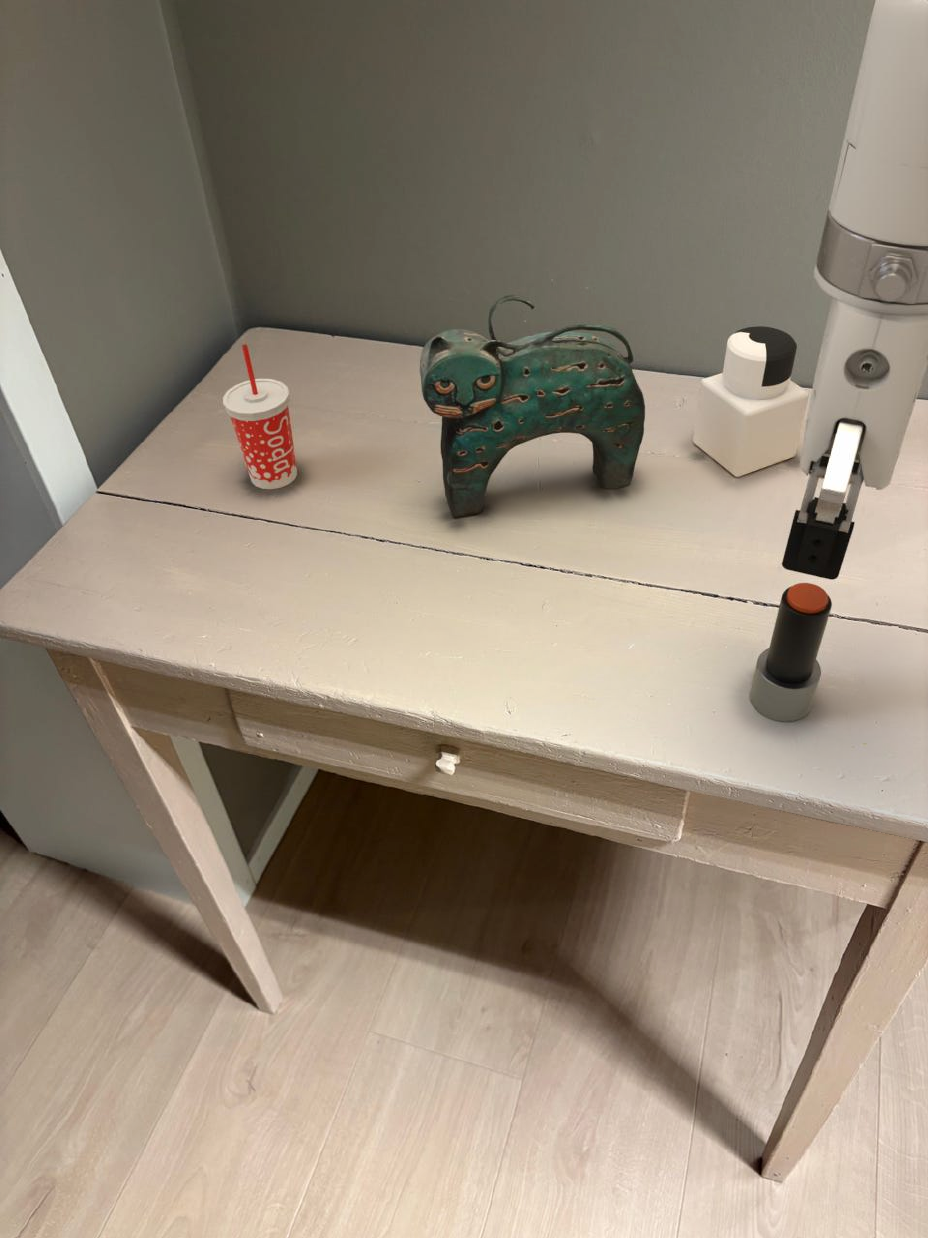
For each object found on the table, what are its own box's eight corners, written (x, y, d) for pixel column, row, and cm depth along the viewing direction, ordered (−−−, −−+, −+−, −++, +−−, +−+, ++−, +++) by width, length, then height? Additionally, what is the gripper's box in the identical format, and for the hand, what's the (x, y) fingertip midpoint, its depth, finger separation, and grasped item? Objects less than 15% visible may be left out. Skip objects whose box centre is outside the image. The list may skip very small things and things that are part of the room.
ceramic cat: (436, 529, 87) (418, 325, 73) (424, 488, 92) (404, 288, 78) (645, 493, 89) (665, 288, 76) (623, 455, 94) (638, 255, 80)
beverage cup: (252, 500, 92) (218, 369, 82) (236, 468, 96) (202, 339, 86) (313, 482, 93) (287, 352, 84) (294, 451, 97) (268, 323, 88)
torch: (815, 686, 71) (847, 582, 64) (806, 728, 69) (837, 625, 61) (755, 670, 73) (780, 567, 66) (744, 712, 70) (768, 609, 63)
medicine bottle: (749, 422, 97) (769, 310, 89) (796, 457, 92) (822, 342, 84) (691, 442, 95) (705, 330, 87) (736, 479, 90) (756, 364, 82)
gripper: (971, 347, 41) (868, 630, 53) (987, 196, 52) (899, 458, 64) (791, 320, 43) (731, 597, 55) (843, 181, 54) (784, 436, 66)
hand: (821, 522), depth 60 cm, fingers open, 9 cm apart
